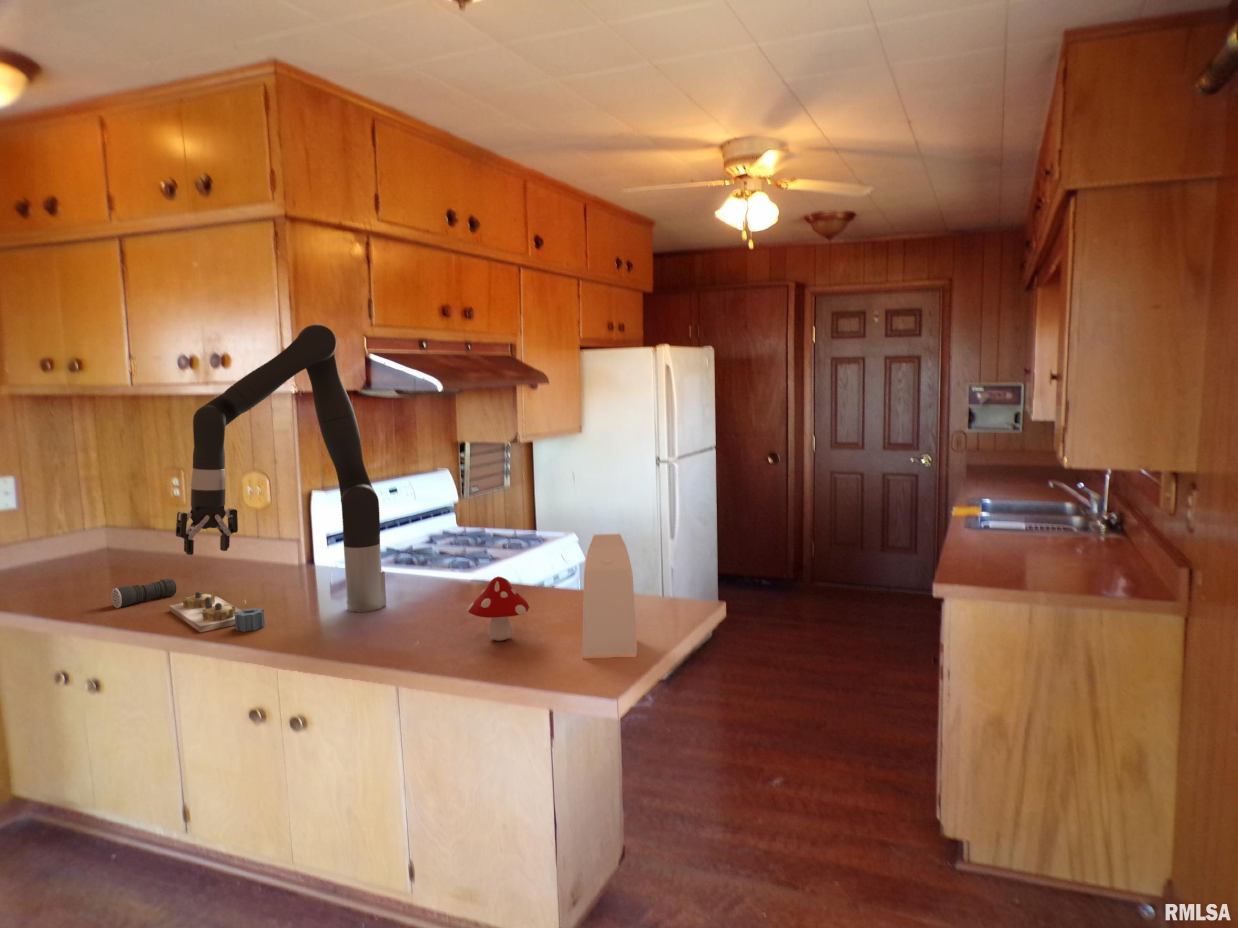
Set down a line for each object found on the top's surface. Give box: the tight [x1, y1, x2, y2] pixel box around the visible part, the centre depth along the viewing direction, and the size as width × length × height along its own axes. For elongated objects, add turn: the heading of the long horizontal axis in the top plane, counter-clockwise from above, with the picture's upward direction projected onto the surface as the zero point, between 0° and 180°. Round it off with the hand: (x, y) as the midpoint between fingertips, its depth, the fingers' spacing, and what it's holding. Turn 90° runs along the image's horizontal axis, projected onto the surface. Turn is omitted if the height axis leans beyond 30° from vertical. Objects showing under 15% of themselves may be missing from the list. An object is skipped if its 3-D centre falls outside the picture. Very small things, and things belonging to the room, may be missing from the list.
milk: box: [581, 533, 638, 657], centre depth 181 cm, size 12×12×26 cm
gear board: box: [169, 590, 243, 633], centre depth 213 cm, size 12×26×5 cm, turn 43°
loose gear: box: [234, 607, 265, 633], centre depth 202 cm, size 7×7×4 cm
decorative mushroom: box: [467, 576, 530, 642], centre depth 189 cm, size 14×14×15 cm
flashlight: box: [110, 578, 177, 609], centre depth 229 cm, size 15×5×5 cm, turn 143°
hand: (207, 552), depth 201 cm, fingers open, 8 cm apart
